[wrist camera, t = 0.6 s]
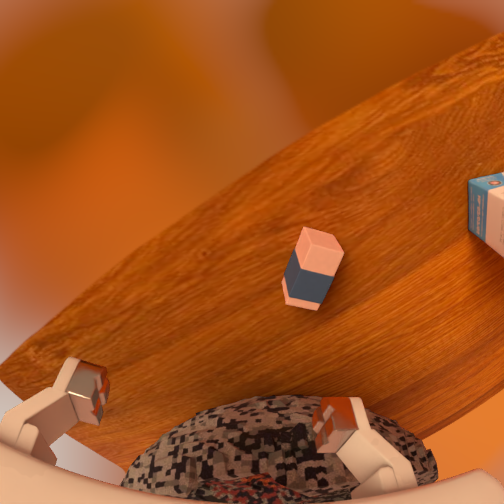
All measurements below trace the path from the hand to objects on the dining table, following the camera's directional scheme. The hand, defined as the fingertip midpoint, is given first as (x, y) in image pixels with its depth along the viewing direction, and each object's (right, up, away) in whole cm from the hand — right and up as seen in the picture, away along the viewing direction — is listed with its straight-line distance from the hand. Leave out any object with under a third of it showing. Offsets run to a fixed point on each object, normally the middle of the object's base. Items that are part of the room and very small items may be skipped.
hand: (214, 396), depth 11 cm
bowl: (+4, -15, +24) cm, 29 cm away
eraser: (+6, +5, +14) cm, 16 cm away
